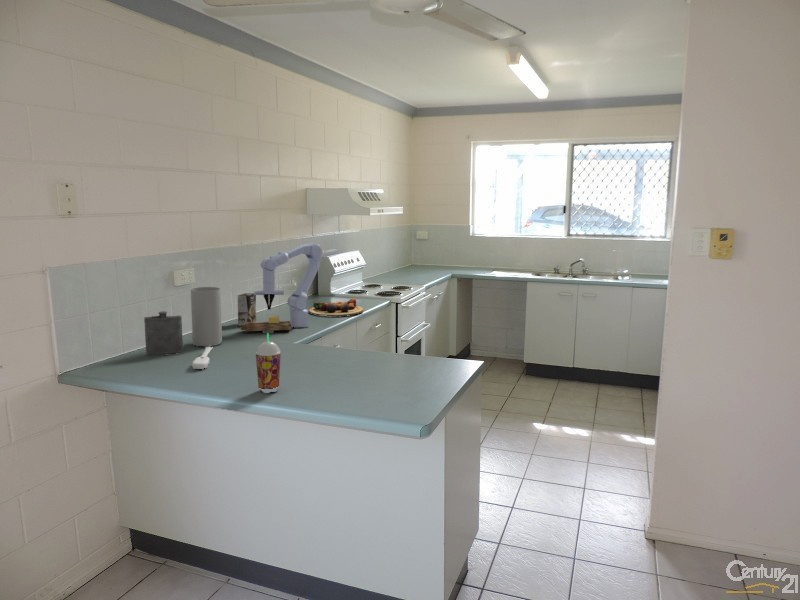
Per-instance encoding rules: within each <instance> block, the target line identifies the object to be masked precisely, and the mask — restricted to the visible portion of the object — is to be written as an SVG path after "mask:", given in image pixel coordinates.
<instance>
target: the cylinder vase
mask: <svg viewBox="0 0 800 600" xmlns="http://www.w3.org/2000/svg"><path fill="white" fill-rule="evenodd" d="M221 291H222V290H221V288H220V287H217V286H198V287H192V288H190V303H191V304H190V306H191V307H190V308H191V309H190V311H191V331H192V332H191V333H192V345H193V346H195V345H196V346H195V347H198V346H209V345H215V344H218V343H221V342H222V343H223V332H222V331H223V330H222V329H223V328H222V298H221V297H222V296H221V295H222V293H221ZM222 343H221V344H222Z"/></svg>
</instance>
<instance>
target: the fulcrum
mask: <svg viewBox="0 0 800 600" xmlns="http://www.w3.org/2000/svg"><path fill="white" fill-rule="evenodd" d="M267 333H269V335H271V334H274V330H265V331H262V334H264V335H265V334H266V335H267Z"/></svg>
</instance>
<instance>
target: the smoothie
mask: <svg viewBox="0 0 800 600" xmlns="http://www.w3.org/2000/svg"><path fill="white" fill-rule="evenodd" d="M269 337H270V334H269V333H267V334H266V341H263V342H262V343H260V345H258V347H257V349H256V351H255V361H256V363H255V364H256V371H257V374H256V375H257V384H258V389H259V388H261V389H273V388H276V387H278V386H279V387H280V376H281V374H280V373H281V355H282V354H281V353H282V351H281V350H280V348H279V346H278V345H277V344H276V343H275V342H274V341H272V340H271V341H270V338H269Z"/></svg>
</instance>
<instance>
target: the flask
mask: <svg viewBox="0 0 800 600" xmlns="http://www.w3.org/2000/svg"><path fill="white" fill-rule="evenodd" d="M167 314H168V311H167V310H166V311H163V310H162V311H158V315H154V316H153V315H152V316H145V317H143V318H144V336H145V337H144V340H145V355H146V356H167V355H166V354H171V355H177V354H176V353H181V354H183V353H184V347H183V346H184V343H183V321H182V320H183V319H182V315H168V316H167ZM182 352H183V353H182Z"/></svg>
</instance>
